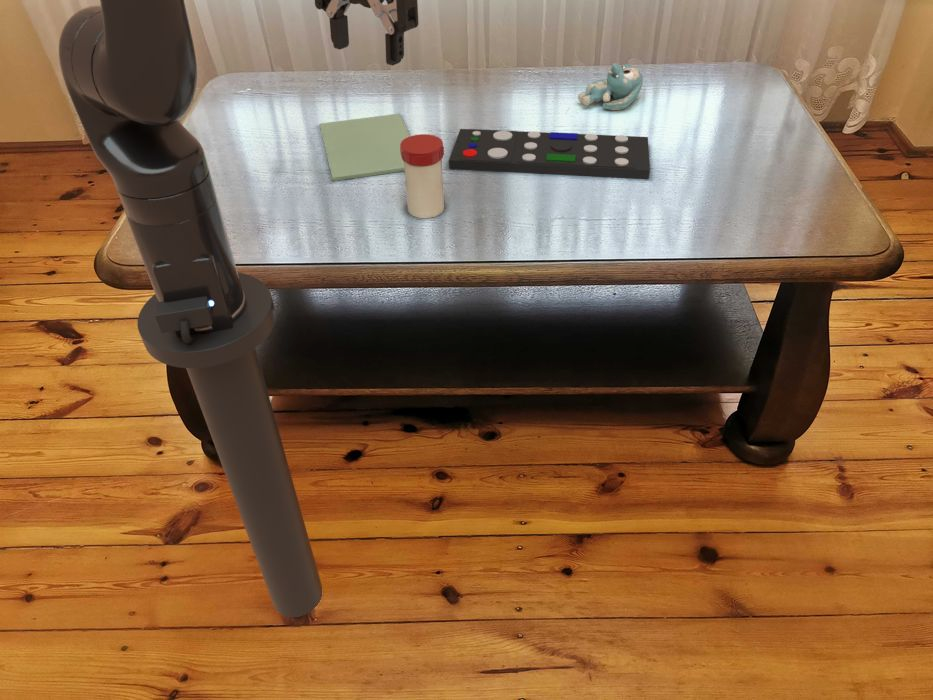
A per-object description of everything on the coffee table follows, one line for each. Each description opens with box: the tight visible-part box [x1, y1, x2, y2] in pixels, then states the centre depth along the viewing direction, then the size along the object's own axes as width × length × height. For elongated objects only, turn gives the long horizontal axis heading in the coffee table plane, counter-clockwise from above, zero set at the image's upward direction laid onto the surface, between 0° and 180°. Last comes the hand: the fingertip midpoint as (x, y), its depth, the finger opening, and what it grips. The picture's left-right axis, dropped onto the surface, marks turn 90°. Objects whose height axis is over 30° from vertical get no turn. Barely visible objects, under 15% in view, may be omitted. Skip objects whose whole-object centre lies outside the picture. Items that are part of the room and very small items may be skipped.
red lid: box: [400, 133, 445, 166], centre depth 101 cm, size 6×6×2 cm
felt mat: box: [319, 113, 411, 182], centre depth 122 cm, size 20×14×1 cm
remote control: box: [448, 128, 651, 180], centre depth 117 cm, size 11×30×2 cm, turn 81°
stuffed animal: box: [577, 62, 644, 111], centre depth 131 cm, size 11×7×12 cm
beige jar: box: [403, 158, 445, 219], centre depth 104 cm, size 5×5×10 cm
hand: (367, 55), depth 94 cm, fingers open, 8 cm apart
